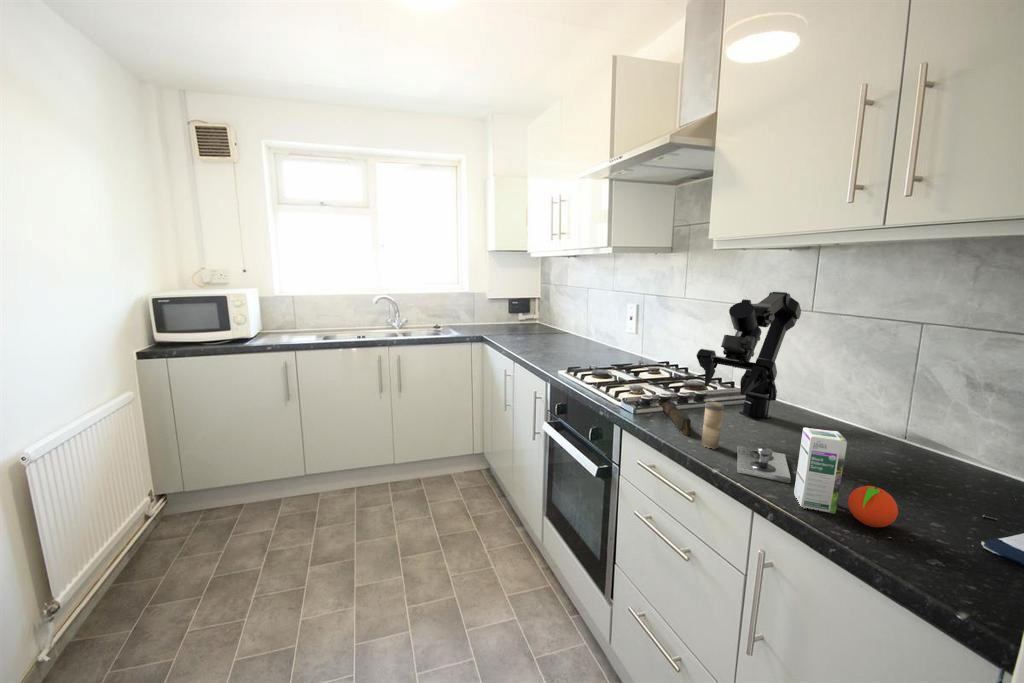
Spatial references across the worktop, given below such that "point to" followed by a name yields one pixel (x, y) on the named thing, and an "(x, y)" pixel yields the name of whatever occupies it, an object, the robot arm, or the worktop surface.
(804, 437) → the syrup box
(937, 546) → the worktop surface
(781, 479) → the plate
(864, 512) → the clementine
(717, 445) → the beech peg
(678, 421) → the brown rough bar
